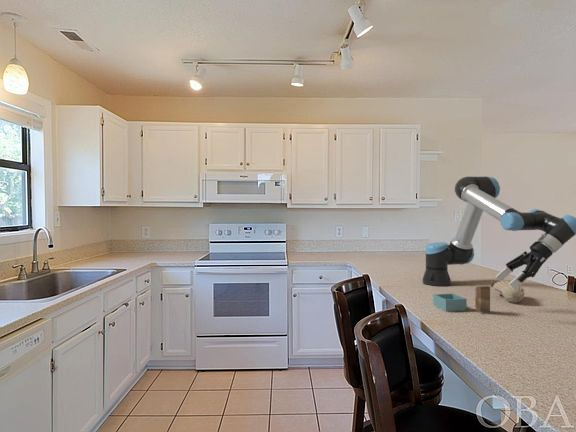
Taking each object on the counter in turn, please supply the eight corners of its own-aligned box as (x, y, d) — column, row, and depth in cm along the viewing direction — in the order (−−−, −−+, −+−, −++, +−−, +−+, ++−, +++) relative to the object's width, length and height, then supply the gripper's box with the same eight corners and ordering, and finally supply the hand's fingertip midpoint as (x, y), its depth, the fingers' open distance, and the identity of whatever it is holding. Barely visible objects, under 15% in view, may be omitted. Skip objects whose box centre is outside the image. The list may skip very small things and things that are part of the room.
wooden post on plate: (474, 310, 151) (474, 285, 150) (483, 310, 151) (483, 284, 151) (481, 313, 146) (481, 287, 146) (491, 313, 147) (491, 287, 147)
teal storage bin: (433, 305, 159) (433, 294, 159) (452, 304, 161) (452, 293, 160) (445, 311, 150) (445, 300, 150) (466, 310, 151) (466, 298, 151)
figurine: (484, 289, 189) (502, 304, 160) (484, 273, 189) (502, 285, 160) (508, 290, 186) (531, 306, 157) (509, 274, 185) (531, 287, 157)
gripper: (523, 237, 157) (486, 270, 160) (555, 243, 132) (510, 282, 135) (536, 249, 156) (499, 282, 159) (570, 258, 131) (526, 296, 134)
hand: (504, 282), depth 147 cm, fingers open, 13 cm apart
